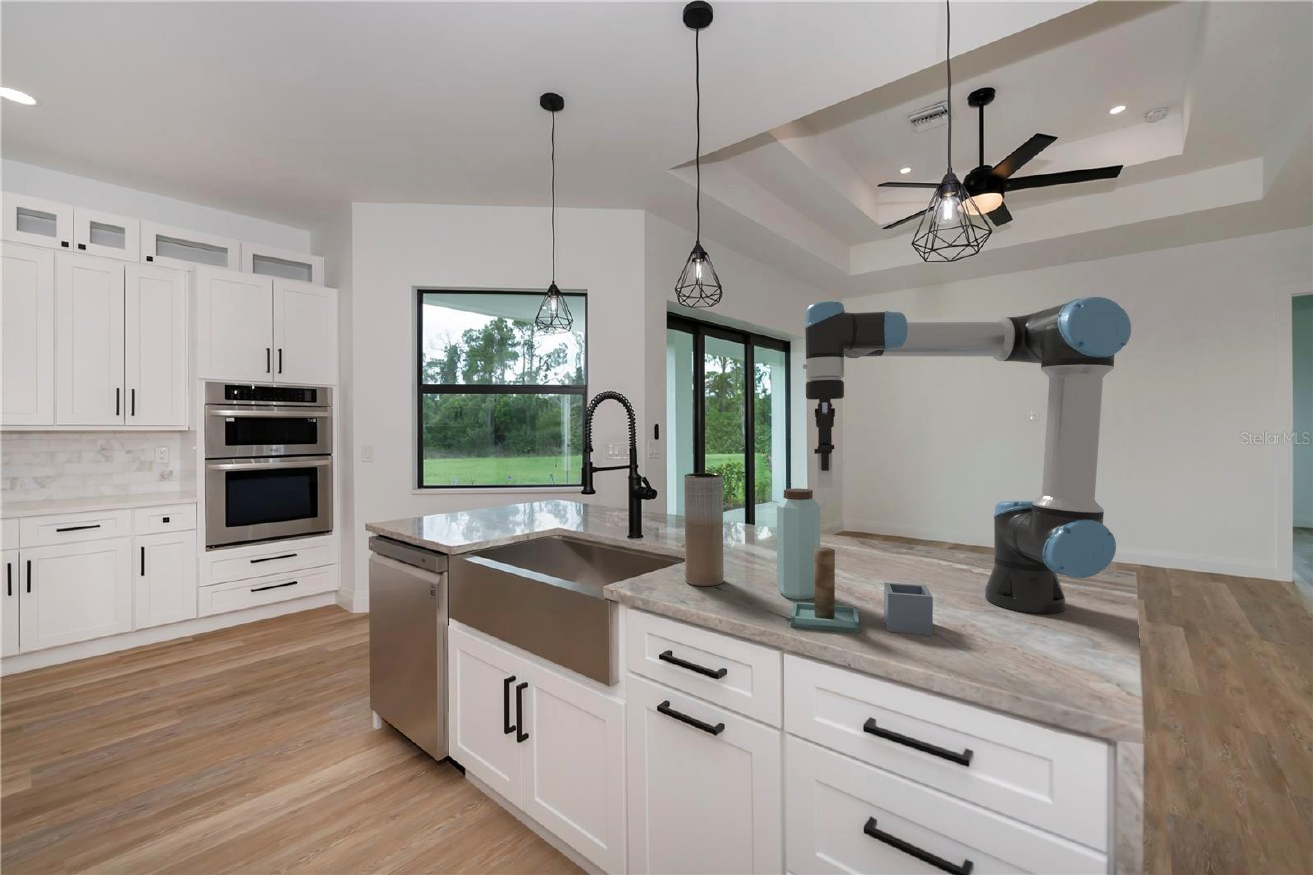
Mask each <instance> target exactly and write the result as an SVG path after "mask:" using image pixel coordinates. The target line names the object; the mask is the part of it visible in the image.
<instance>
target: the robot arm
mask: <svg viewBox="0 0 1313 875" xmlns="http://www.w3.org/2000/svg"><path fill="white" fill-rule="evenodd" d="M805 314H806V315H805V326H804V331H805V362H806V363H804V364H803V365H802V369H803V370H806V371H805V379H807V380H809V381H806V382H805V399H807V400H811V401H812V400H815V401H816V400H818V403H817V408H814V417H815V427H816V428H817V429H818V431H817V432H818V433H817V434H818V438H817V439H818V446H817V448H814V449H813V450H814V455H815V454H816V455H817V488H827V489H829V488H830V489H832V488H833V450H835V444H832V443H833V442H832V441H833V440H832V438H833V437H832V431H833V430H832V428H833V427H835V416H836V408H835V407H833V404H832V402H831V400H839V399H840V400H841V399H843V398H844V397H845V382H844V380H843V379H842V378H844V377H845V358H848V359H859V358H862V357H993V359H994V360H995V361H998V362H1018V363H1029V364H1032V363H1033V364H1040V370H1041V371H1042V373H1044V374H1045V375H1046V376H1047V377H1048V378H1049V380H1048V392H1047V393H1048V394H1047V395H1048V397H1047V407H1046V408H1047V409H1046V410H1047V411H1046V424H1045V425H1046V426H1045V441H1044V454H1043V455H1044V456H1043V457H1044V458H1043V469H1042V470H1043V472H1042V485H1041V486H1042V487H1041V495H1040V496H1039V497H1038V498H1036V499H1035V500H1034V501H1033V500H1032V501H1031V500H1020V501H1018V500H1007V501H1006V500H1005V501H1004V500H1003V501H999V502H997V503H996V504H995V508H994V515H993V519H994V524H993V525H994V526H993V527H994V532H993V533H994V541H993V542H994V548H993V549H994V555H993V556H994V558H993V559H994V561H993V563H994V565H993V568H992V570H991V573H990V576H989V577H988V581H987V583H986V585H985V588H984V590H985V592H984V593H985V595H984V596H985V597H984V598H985V600H987V601H988V602H990V603H991V604H993V605H994V606H995V605H996V606H999V607H1000V608H1005V609H1008V610H1011V611H1012V610H1013V611H1018V612H1024V613H1033V614H1057V613H1061V612H1064V611H1065V610H1066V597H1065V593H1064V592H1063V588H1062V584H1061V582H1060V580H1059V578H1058V575H1060V576H1061V575H1062V576H1066V577H1070V578H1072V579H1073V578H1075V579H1085V578H1091V577H1094V576H1096V575H1098V574H1100V572H1102V571H1103V570H1105V569H1107V568H1108V567H1109V565H1110V564H1111V563H1112V561H1113V560H1114V558H1115V555H1116V551H1117V543H1116V537H1115V536H1114V534H1113V533H1112V532H1111V531H1110V529H1109V528H1108V527H1107V526H1106V525H1104V514H1105V513H1104V508H1103V507H1102V506H1101V505H1100V504H1099V503H1098V502H1096V500H1095V498H1096V484H1097V483H1096V482H1097V473H1098V472H1097V468H1098V458H1099V457H1098V456H1099V455H1098V454H1099V440H1100V427H1101V426H1100V424H1101V413H1102V411H1101V409H1102V398H1103V382H1104V377H1105V376H1106V375H1107V374H1109V373H1110V372H1111V371H1112V370H1114V367H1115V354H1116V355H1117V353H1118V352H1120V351H1121V350H1122V349H1123V347H1125V346H1126V345H1127V344H1128V342H1129V340H1130V338H1131V335H1132V324H1131V319H1130V316H1129V314H1128V313H1127V312H1126V310H1125V309H1124V308H1123V307H1121V306H1120V305H1119V304H1118V303H1117V302H1116V301H1114V300H1112V299H1110V298H1106V297H1103V296H1101V297H1100V296H1090V297H1084V298H1076V299H1073V300H1070V301H1068V302H1065V303H1063V304H1060V305H1056V306H1053V307H1049V308H1047V309H1043V310H1039V311H1037V312H1033V313H1030V314H1024V315H1018V316H1003V317H1000V318H998V319H997V320H996V321H956V322H955V321H950V322H949V321H944V322H943V321H936V322H935V321H933V322H931V321H930V322H928V321H927V322H926V321H925V322H922V321H920V322H917V321H916V322H914V321H913V322H909V321H908V320H907V318H906V316H905V314H904V313H902V312H900V311H889V310H885V311H876V312H875V311H874V312H873V311H871V312H869V311H868V312H846V310H845V306H844V304H843V303H842V302H841V301H820V302H814V303H813V304H810V305H808V307H807V308H806V311H805ZM1057 574H1058V575H1057Z"/></svg>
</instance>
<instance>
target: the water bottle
mask: <svg viewBox="0 0 1313 875" xmlns="http://www.w3.org/2000/svg"><path fill="white" fill-rule="evenodd" d="M813 493H814V491H813V489H809V488H798V487H797V488H796V487H795V488H786V489H784V490H783V497H782V499H781V500H780V501H779V502H778V504H777V505H776V569H777V570H776V571H777V572H776V581H777V584H776V587H777V590H778V591H779V593H780V594H781V595H783V596H784V597H785V598H789V599H795V600H800V601H801V600H811V599H814V549H815V548H819V547H821V505H820V504H818V502H816V500H815V499H814V498H813Z"/></svg>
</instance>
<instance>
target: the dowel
mask: <svg viewBox="0 0 1313 875" xmlns="http://www.w3.org/2000/svg"><path fill="white" fill-rule="evenodd" d="M835 551H836V550H835V549H834V548H833V547H832V548H831V547H823V546H820V547H819V548H815V549H814V598H813V599H814V601H813V602H814V604H815V617H816V618H820V619H834V618H835V605H836V604H835V602H836V599H835V598H836V597H835V593H836V591H835V590H836V588H835V586H836V585H835V584H836V581H835V579H836V578H835V576H836V575H835V574H836V572H835V571H836V570H835V569H836V568H835V567H836V566H835V564H836V558H835V557H836V556H835V553H836V552H835Z"/></svg>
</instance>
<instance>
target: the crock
mask: <svg viewBox="0 0 1313 875" xmlns="http://www.w3.org/2000/svg"><path fill="white" fill-rule="evenodd" d="M933 599H934V597H933V594H932V593H931V592H930V590H929V588H928V586H927V585H926V584H916V583H902V582H901V583H899V582H886V581H885V582H883V619H884V622H885V625H886V629H887V632H890V633H891V632H893V633H902V634H903V633H905V634H915V635H924V636H925V635H926V636H933V635H934V634H933V631H934V630H933V629H934V626H933V622H934V621H933V620H934V617H933V613H934V611H933V610H934V608H933V607H934V606H933V605H934V604H933V602H934V600H933Z"/></svg>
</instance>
